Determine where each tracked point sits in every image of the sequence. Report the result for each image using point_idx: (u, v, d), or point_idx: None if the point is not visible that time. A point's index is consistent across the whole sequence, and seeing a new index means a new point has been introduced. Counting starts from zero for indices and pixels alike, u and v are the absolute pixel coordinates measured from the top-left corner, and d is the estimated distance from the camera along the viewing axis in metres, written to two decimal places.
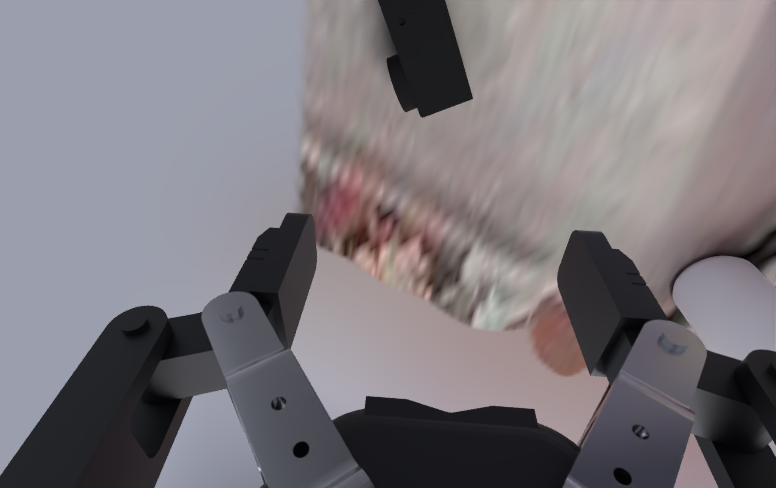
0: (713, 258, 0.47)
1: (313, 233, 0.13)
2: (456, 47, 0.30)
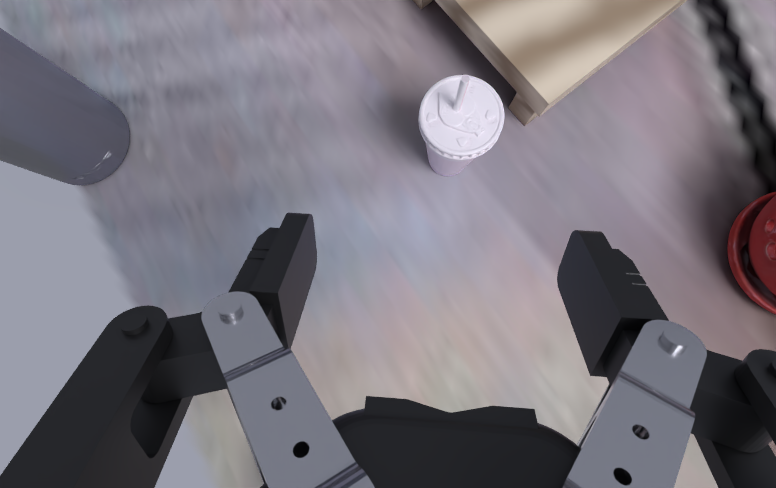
0: None
1: (313, 233, 0.13)
2: None
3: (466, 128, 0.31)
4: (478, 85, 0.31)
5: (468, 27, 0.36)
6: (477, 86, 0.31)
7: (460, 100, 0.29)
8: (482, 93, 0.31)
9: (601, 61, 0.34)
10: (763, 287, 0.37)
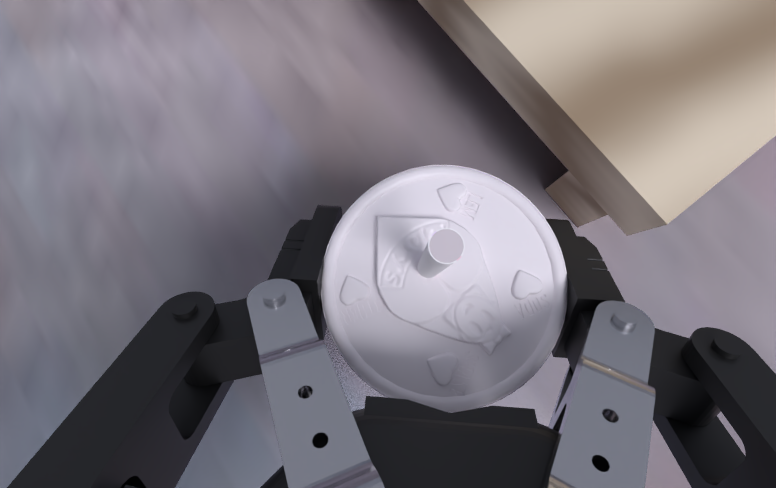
0: None
1: None
2: None
3: (456, 329, 0.10)
4: (491, 196, 0.11)
5: (464, 30, 0.16)
6: (488, 199, 0.11)
7: (434, 273, 0.09)
8: (503, 220, 0.11)
9: None
10: None
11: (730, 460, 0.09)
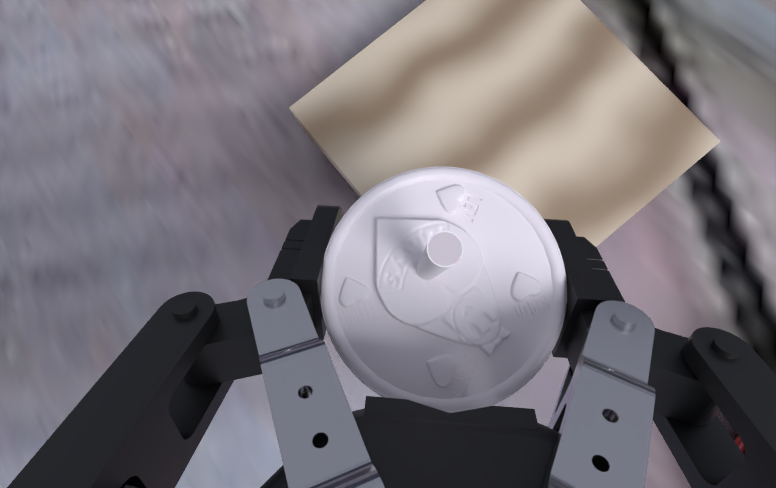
0: None
1: None
2: None
3: (455, 331, 0.10)
4: (490, 198, 0.11)
5: None
6: (487, 200, 0.11)
7: (433, 275, 0.09)
8: (502, 222, 0.11)
9: None
10: None
11: (730, 460, 0.09)
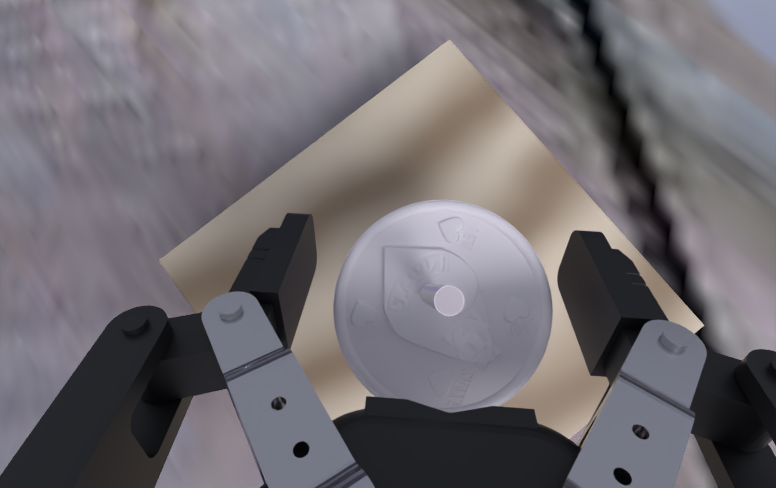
0: None
1: (313, 233, 0.13)
2: None
3: (454, 349, 0.12)
4: (486, 229, 0.12)
5: None
6: (484, 231, 0.12)
7: None
8: (496, 251, 0.12)
9: None
10: None
11: None
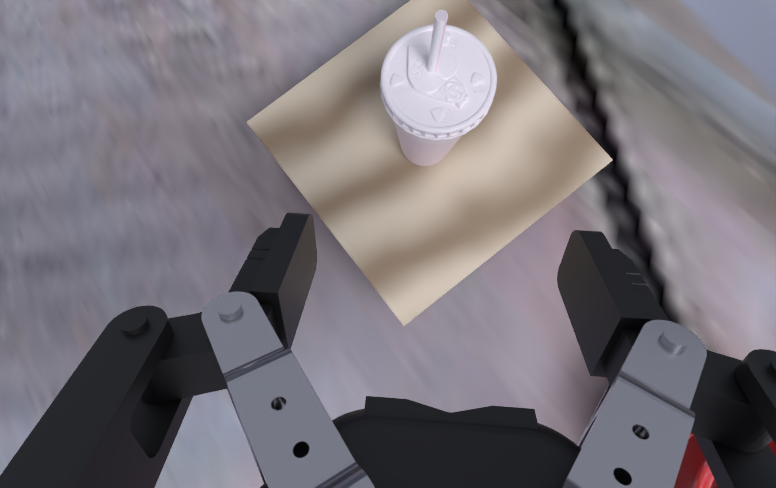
0: None
1: (313, 233, 0.13)
2: None
3: (444, 96, 0.22)
4: (462, 39, 0.23)
5: None
6: (461, 40, 0.23)
7: (435, 53, 0.21)
8: (467, 49, 0.23)
9: (463, 277, 0.31)
10: None
11: None
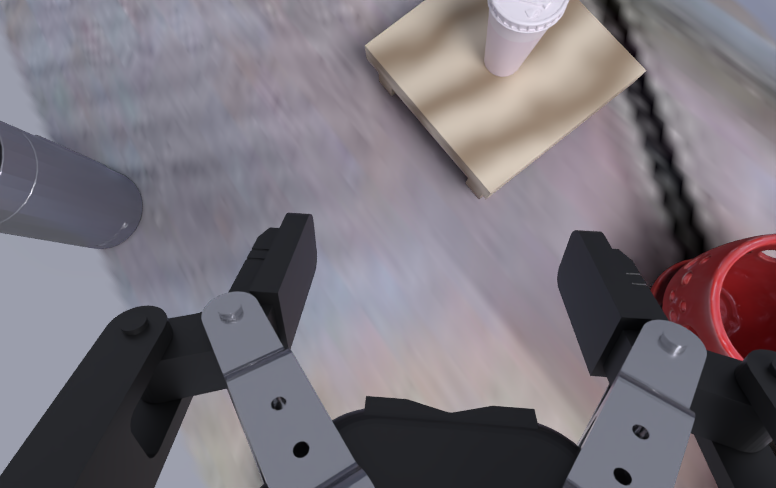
0: None
1: (313, 233, 0.13)
2: None
3: (534, 0, 0.32)
4: None
5: (426, 124, 0.43)
6: None
7: None
8: None
9: (535, 157, 0.41)
10: None
11: None
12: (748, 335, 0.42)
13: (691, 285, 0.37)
